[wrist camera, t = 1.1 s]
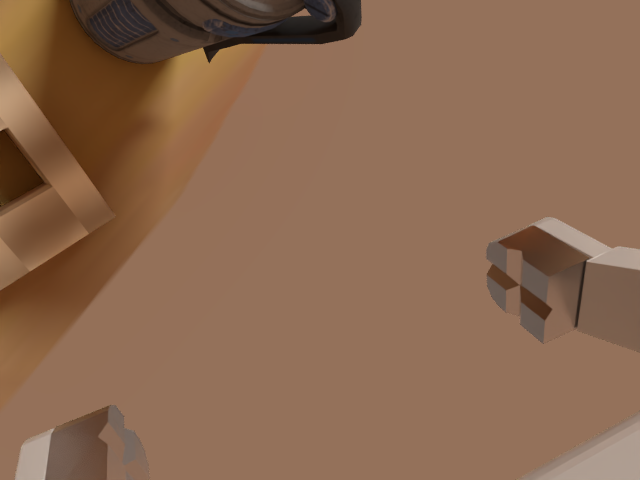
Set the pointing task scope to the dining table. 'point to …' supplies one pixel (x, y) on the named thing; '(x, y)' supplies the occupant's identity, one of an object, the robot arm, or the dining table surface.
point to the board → (42, 188)
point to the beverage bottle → (210, 24)
